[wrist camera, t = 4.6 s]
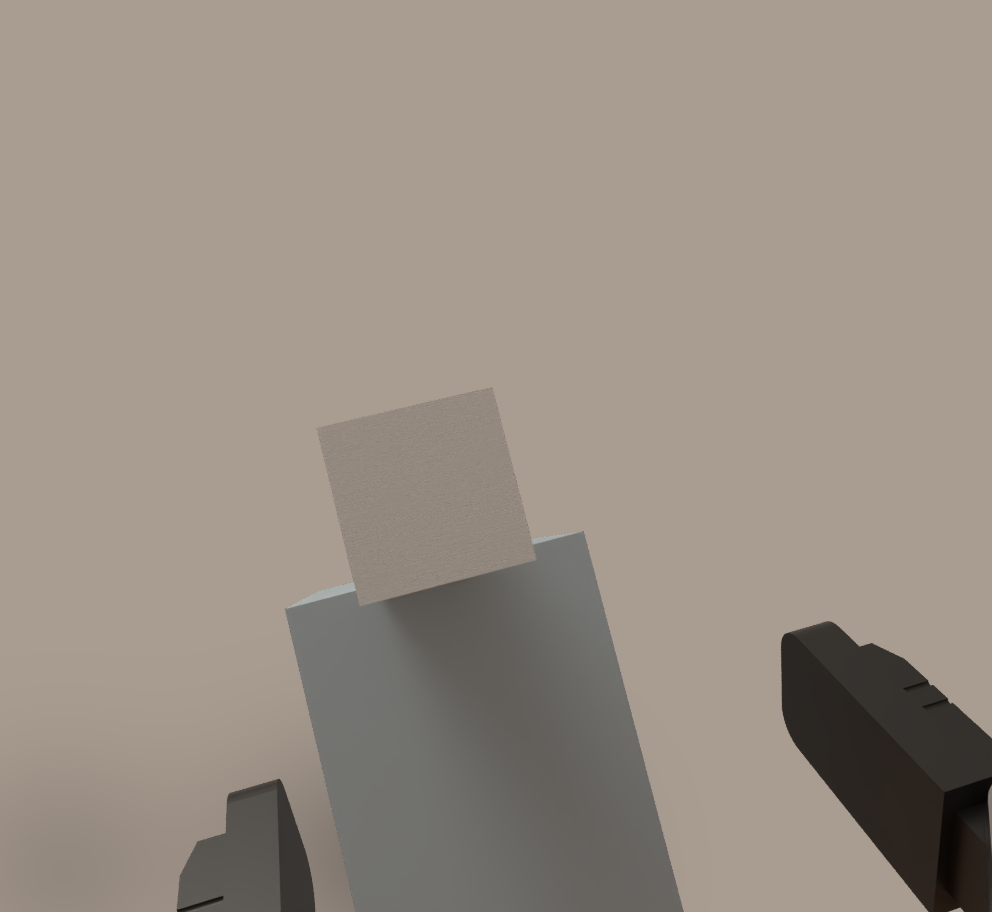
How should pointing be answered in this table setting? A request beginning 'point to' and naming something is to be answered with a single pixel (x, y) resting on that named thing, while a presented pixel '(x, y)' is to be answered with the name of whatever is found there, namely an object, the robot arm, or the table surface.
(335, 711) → the stand
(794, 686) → the robot arm
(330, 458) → the shaft
